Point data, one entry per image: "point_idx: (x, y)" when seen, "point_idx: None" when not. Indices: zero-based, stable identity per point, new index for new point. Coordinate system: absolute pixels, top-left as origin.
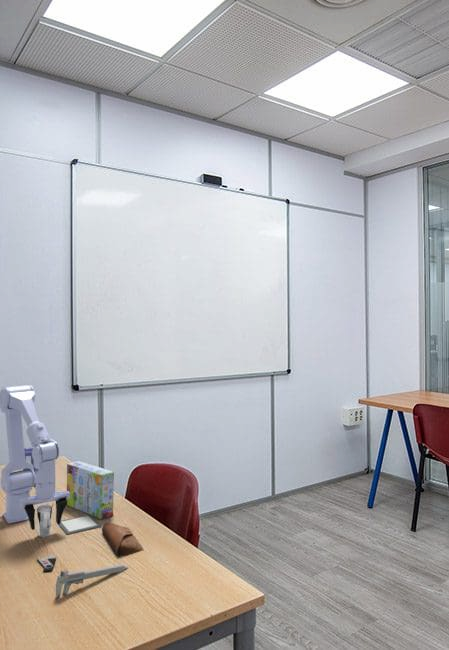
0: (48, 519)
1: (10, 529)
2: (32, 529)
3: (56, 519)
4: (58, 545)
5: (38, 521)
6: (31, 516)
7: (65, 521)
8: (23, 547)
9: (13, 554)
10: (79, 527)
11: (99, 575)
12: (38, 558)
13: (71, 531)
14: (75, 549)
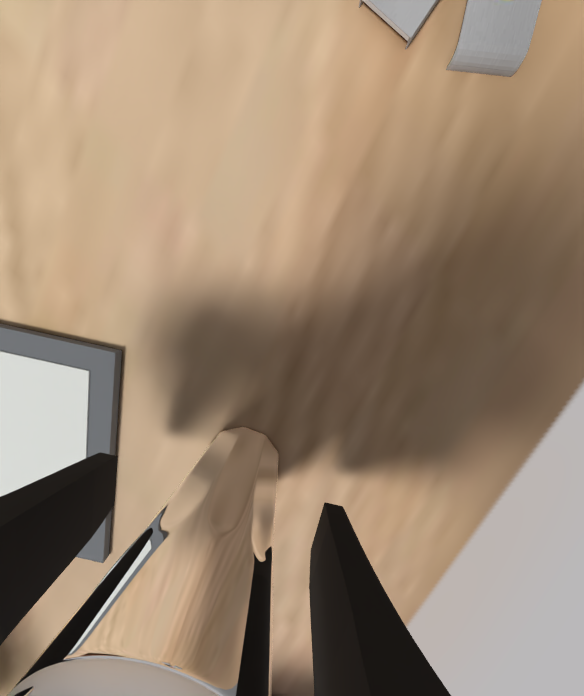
0: (175, 522)
1: None
2: (343, 508)
3: (95, 520)
4: (243, 224)
5: (271, 570)
6: (419, 687)
7: None
8: (442, 385)
9: (557, 330)
10: (3, 380)
11: None
12: (519, 42)
13: (74, 361)
14: (168, 27)
